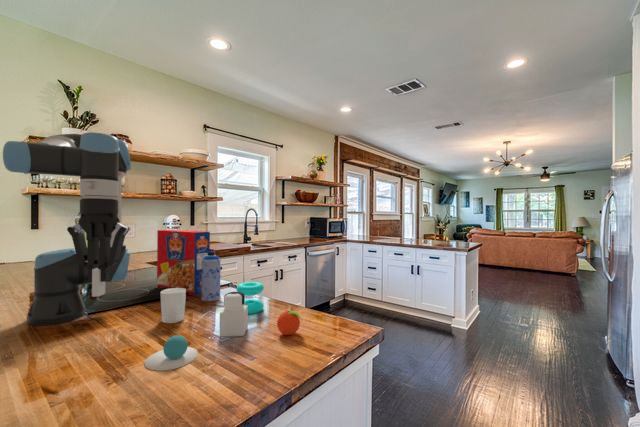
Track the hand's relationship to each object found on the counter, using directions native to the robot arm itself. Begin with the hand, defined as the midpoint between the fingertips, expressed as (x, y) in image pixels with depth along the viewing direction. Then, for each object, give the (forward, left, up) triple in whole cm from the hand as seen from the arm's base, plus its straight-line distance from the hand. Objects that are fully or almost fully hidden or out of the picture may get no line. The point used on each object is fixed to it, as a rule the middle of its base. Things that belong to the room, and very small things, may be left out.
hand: (98, 294), depth 72 cm
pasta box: (-2, +70, -17) cm, 72 cm away
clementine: (+47, +11, -17) cm, 51 cm away
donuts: (+33, +35, -17) cm, 51 cm away
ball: (+18, 0, -14) cm, 22 cm away
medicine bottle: (+30, +15, -17) cm, 37 cm away
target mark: (+17, 0, -16) cm, 24 cm away
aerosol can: (+15, +53, -17) cm, 58 cm away
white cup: (+8, +28, -17) cm, 34 cm away
